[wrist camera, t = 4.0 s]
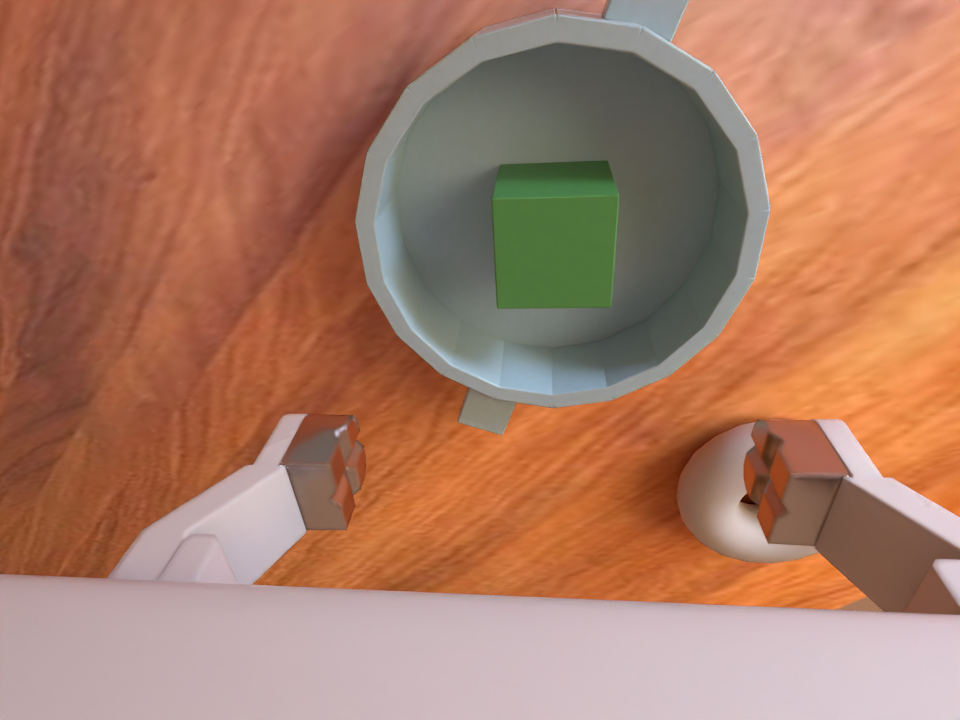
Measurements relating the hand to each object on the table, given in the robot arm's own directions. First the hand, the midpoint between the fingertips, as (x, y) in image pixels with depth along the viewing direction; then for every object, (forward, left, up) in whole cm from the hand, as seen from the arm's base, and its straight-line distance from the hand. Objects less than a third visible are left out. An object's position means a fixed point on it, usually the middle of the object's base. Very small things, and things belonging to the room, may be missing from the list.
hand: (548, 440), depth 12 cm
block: (-1, +1, -16) cm, 16 cm away
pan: (-1, +1, -17) cm, 17 cm away
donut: (-18, +12, -17) cm, 27 cm away
